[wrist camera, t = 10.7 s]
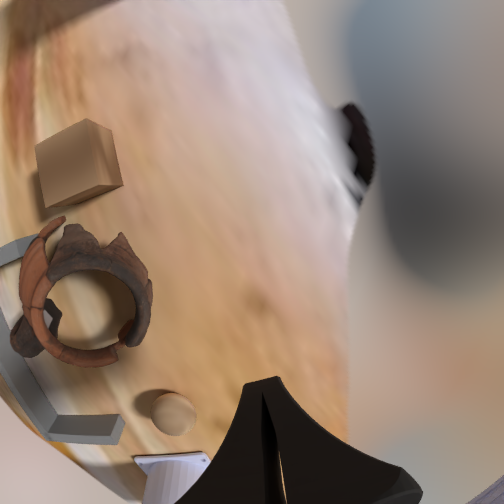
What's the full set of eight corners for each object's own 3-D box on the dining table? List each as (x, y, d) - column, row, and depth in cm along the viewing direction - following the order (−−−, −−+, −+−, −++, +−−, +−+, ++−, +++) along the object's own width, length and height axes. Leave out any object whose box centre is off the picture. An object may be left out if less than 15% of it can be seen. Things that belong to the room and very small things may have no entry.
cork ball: (204, 412, 22) (201, 442, 18) (165, 417, 21) (159, 446, 18) (189, 381, 21) (183, 410, 17) (148, 387, 21) (138, 415, 17)
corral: (125, 423, 21) (117, 444, 19) (56, 423, 21) (46, 440, 18) (38, 233, 17) (15, 240, 15) (-22, 262, 17) (-43, 270, 14)
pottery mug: (82, 176, 18) (83, 199, 11) (159, 260, 23) (197, 313, 17) (-10, 287, 15) (-32, 354, 9) (71, 350, 21) (82, 421, 15)
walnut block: (124, 185, 18) (99, 184, 14) (76, 204, 18) (45, 208, 14) (112, 130, 17) (86, 118, 13) (65, 151, 17) (34, 146, 13)
